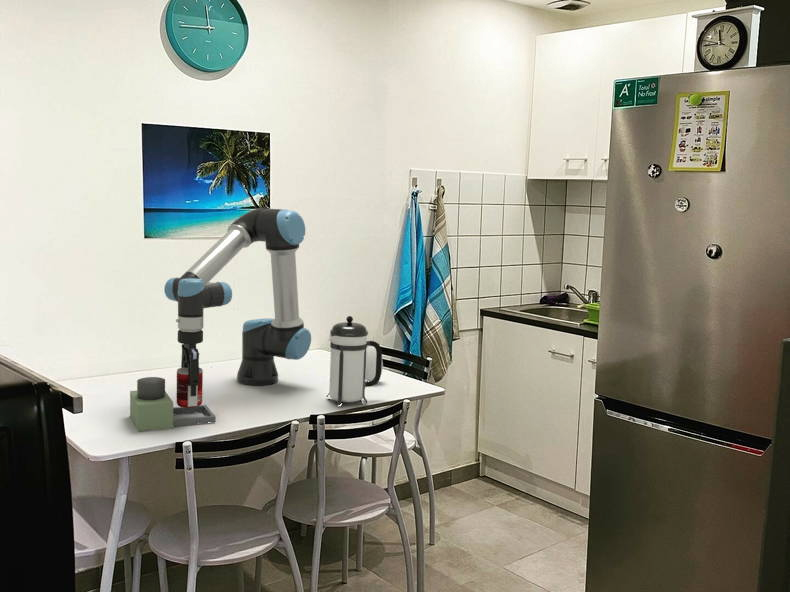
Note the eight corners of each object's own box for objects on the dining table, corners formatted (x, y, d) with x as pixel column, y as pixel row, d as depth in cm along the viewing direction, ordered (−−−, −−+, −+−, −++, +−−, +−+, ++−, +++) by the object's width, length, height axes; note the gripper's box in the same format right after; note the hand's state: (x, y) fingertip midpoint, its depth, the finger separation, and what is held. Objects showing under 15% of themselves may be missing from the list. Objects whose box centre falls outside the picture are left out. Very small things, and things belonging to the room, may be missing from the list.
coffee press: (359, 411, 255) (363, 322, 251) (316, 404, 261) (319, 316, 257) (380, 399, 271) (384, 314, 267) (340, 392, 277) (343, 310, 273)
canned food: (204, 401, 242) (204, 366, 241) (199, 408, 234) (199, 373, 233) (179, 400, 242) (180, 366, 240) (173, 407, 234) (174, 372, 233)
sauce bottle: (381, 385, 289) (383, 338, 286) (360, 384, 289) (362, 337, 286) (382, 380, 296) (384, 334, 294) (362, 379, 297) (364, 333, 294)
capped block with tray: (204, 409, 249) (205, 370, 247) (216, 424, 235) (217, 382, 233) (130, 416, 239) (130, 375, 237) (137, 431, 225) (137, 388, 223)
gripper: (171, 323, 242) (170, 394, 246) (184, 336, 224) (183, 412, 227) (195, 323, 246) (194, 392, 249) (210, 335, 227) (209, 410, 231)
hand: (189, 402), depth 238 cm, fingers closed on canned food, 8 cm apart
